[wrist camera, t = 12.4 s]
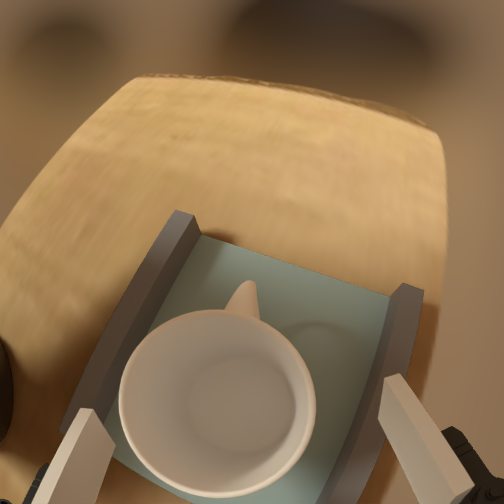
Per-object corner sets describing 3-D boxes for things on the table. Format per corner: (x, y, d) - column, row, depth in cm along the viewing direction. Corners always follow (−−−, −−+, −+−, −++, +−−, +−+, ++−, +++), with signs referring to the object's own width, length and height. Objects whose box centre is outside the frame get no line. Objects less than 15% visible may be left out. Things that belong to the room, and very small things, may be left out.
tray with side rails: (316, 541, 14) (322, 559, 11) (82, 431, 20) (58, 430, 17) (407, 306, 24) (424, 290, 20) (185, 231, 29) (175, 209, 26)
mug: (312, 320, 23) (336, 255, 14) (285, 467, 18) (293, 515, 8) (208, 303, 25) (167, 233, 15) (174, 442, 19) (102, 459, 10)
